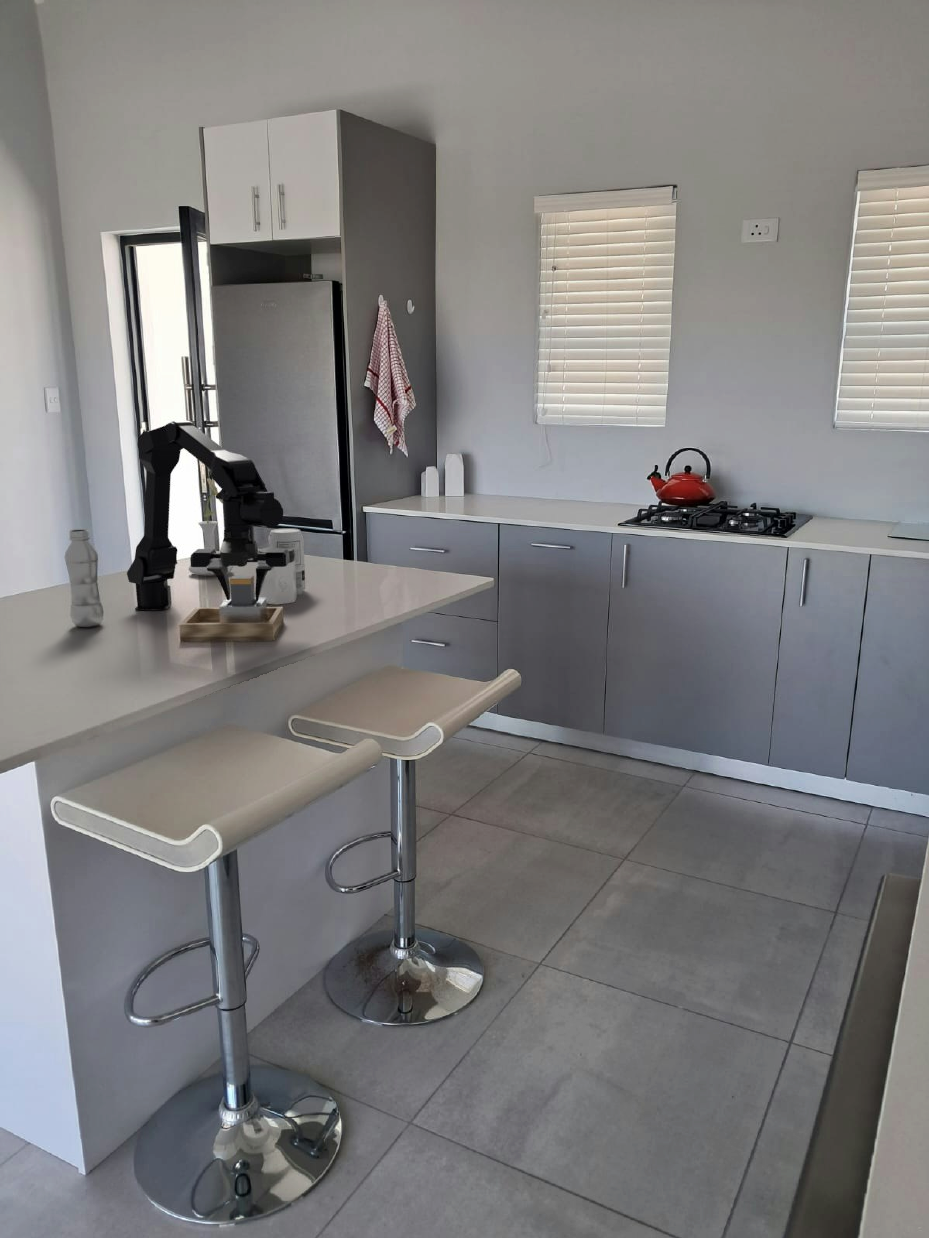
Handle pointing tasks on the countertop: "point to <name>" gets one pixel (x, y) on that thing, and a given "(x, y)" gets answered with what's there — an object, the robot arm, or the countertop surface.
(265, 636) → the oak box
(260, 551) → the jar
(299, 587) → the supplement can
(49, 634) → the countertop surface
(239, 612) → the socket
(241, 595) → the block
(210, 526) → the flower in vase
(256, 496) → the robot arm
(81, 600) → the plastic bottle
